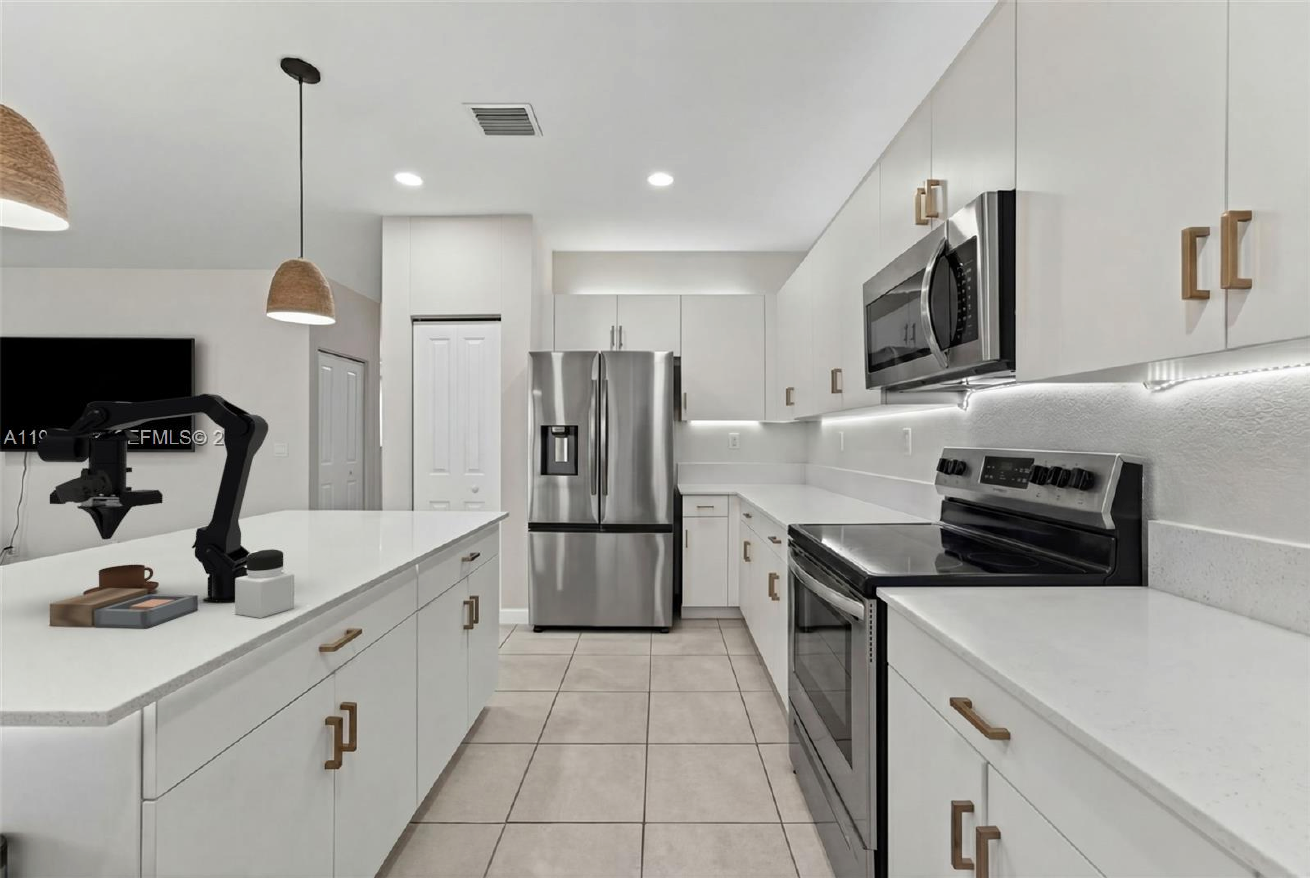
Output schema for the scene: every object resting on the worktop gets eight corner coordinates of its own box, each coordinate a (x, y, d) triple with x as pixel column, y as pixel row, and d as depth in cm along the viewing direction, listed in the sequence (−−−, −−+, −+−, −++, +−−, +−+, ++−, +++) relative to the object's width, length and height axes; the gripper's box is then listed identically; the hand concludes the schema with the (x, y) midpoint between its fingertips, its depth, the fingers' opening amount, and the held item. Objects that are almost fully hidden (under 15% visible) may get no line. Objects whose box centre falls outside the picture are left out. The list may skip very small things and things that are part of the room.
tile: (151, 599, 113) (151, 612, 113) (130, 606, 108) (129, 619, 108) (174, 599, 112) (174, 612, 112) (153, 606, 108) (153, 620, 108)
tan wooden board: (147, 609, 117) (147, 589, 117) (91, 627, 106) (91, 605, 106) (109, 608, 117) (109, 588, 117) (49, 625, 106) (49, 603, 106)
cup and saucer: (114, 590, 131) (114, 562, 131) (172, 589, 132) (172, 561, 132) (66, 605, 119) (66, 575, 119) (130, 604, 120) (130, 574, 120)
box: (197, 610, 116) (197, 595, 116) (146, 628, 105) (146, 612, 105) (149, 609, 117) (149, 594, 117) (94, 627, 106) (94, 610, 106)
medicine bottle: (294, 608, 118) (295, 549, 118) (260, 618, 111) (261, 555, 111) (269, 604, 120) (269, 546, 120) (234, 614, 114) (234, 553, 114)
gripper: (19, 463, 112) (18, 545, 112) (114, 466, 111) (113, 547, 111) (78, 461, 123) (77, 535, 123) (165, 463, 123) (164, 537, 123)
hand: (106, 539), depth 120 cm, fingers closed
